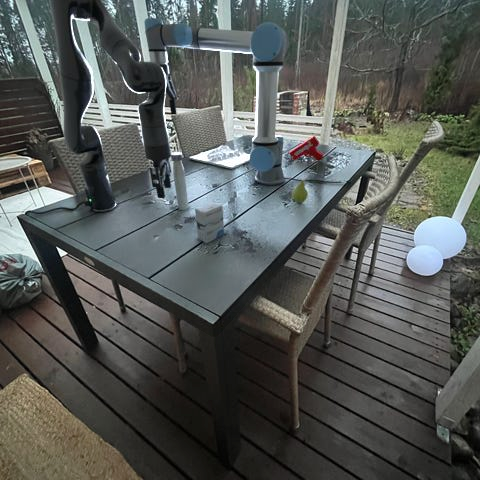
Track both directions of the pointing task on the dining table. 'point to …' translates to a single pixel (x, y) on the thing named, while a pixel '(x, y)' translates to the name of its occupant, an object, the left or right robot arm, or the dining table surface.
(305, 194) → the fruit
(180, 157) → the cap
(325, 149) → the dining table surface
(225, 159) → the relief map
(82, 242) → the dining table surface
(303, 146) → the toy gun
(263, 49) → the right robot arm
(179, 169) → the bottle
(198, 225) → the ink box
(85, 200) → the left robot arm
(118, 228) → the dining table surface
